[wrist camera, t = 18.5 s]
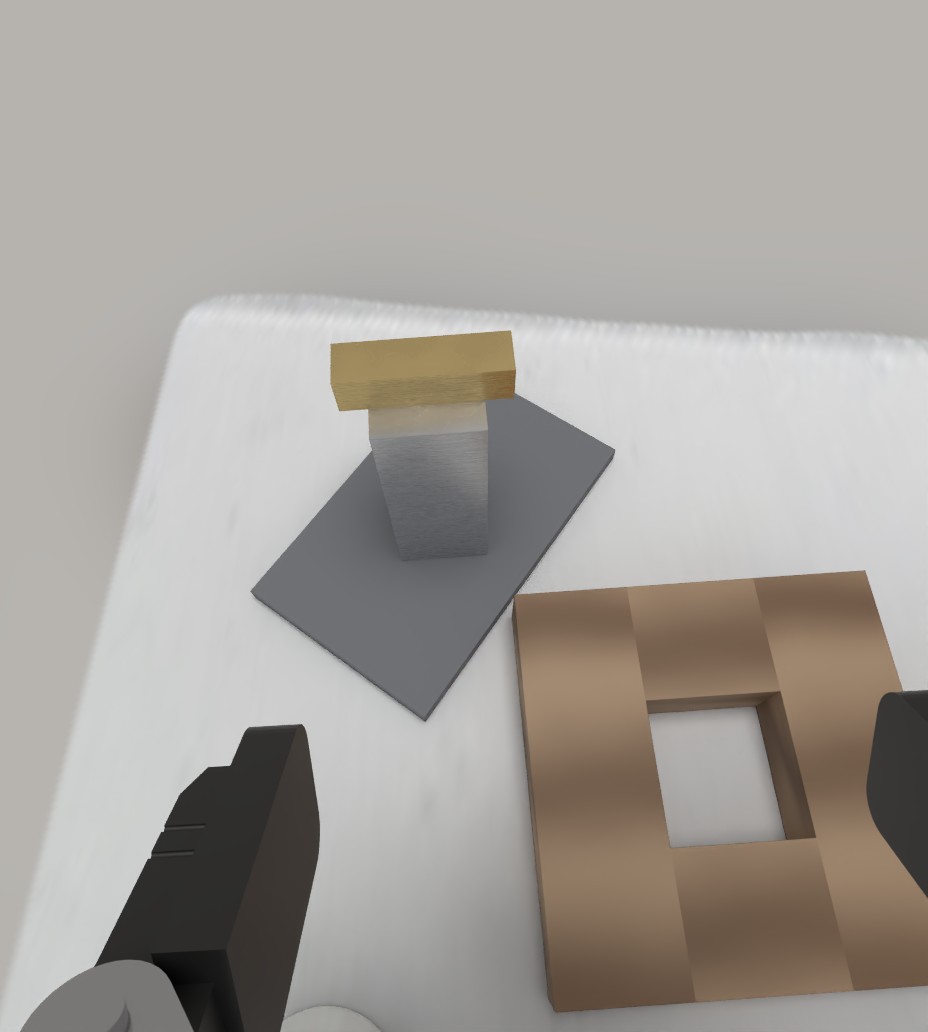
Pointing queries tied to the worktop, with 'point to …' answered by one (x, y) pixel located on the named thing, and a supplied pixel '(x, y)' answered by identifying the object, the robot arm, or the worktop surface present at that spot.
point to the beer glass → (327, 1021)
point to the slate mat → (432, 560)
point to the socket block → (639, 807)
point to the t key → (429, 431)
